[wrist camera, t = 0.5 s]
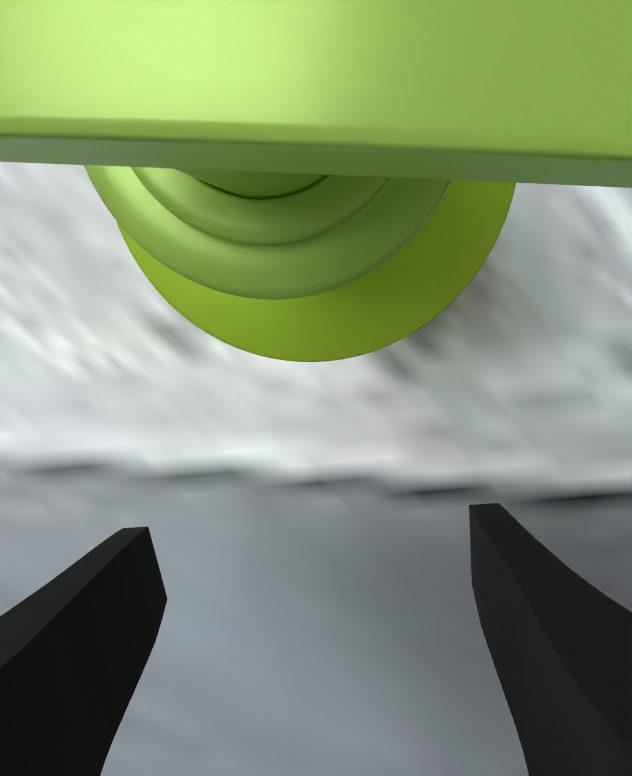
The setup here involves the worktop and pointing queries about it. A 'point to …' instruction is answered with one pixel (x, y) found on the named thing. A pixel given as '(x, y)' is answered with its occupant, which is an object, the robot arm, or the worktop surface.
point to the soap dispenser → (317, 144)
